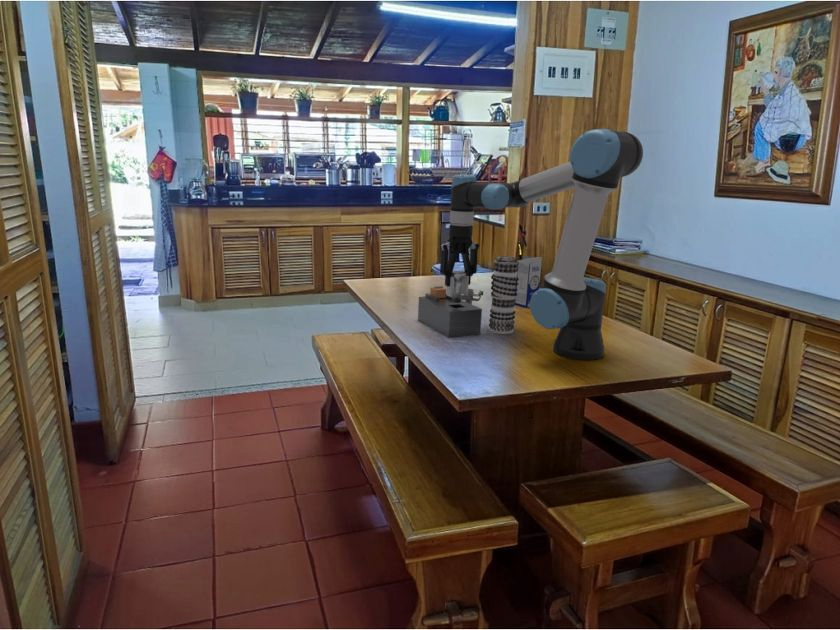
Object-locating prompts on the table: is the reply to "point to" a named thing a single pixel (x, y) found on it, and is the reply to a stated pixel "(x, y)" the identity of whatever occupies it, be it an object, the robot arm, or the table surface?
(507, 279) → the decorative candle
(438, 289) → the block
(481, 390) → the table surface
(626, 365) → the table surface
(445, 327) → the hitch block
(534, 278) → the milk carton
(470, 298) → the mechanical component
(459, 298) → the pin
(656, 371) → the table surface
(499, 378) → the table surface
